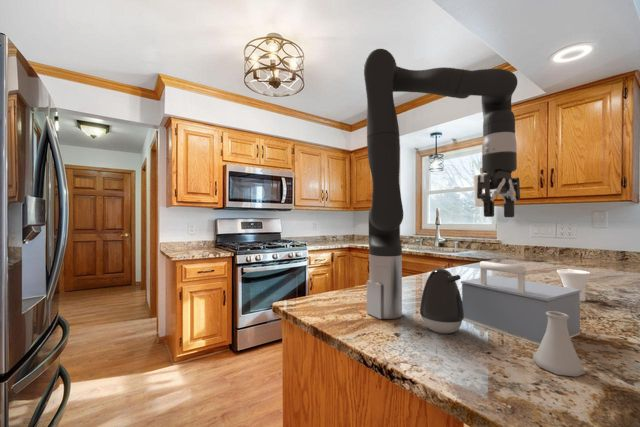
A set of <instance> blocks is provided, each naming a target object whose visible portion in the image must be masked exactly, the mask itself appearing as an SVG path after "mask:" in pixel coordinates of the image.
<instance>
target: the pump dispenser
mask: <svg viewBox="0 0 640 427" xmlns="http://www.w3.org/2000/svg"><path fill="white" fill-rule="evenodd" d="M460 279H461V276H460V275H459V274H456V275H452V273H451V272H450V271H449V270H448V269H445V268H436V269H433V270H432V271H431V272H430V274H429V275H428V277H427V279H426V281H425V284H424V287H423V290H422V293H421V298H420V304H419V315H420V316H421V320H422V322H423V324H424V326H425V327H426V328H428V329H429V330H430V331H433V332H435V333H439V334H446V335H447V334H452V333H455V332H456V331H458V329H460V327H461V325H462V323H463V321H464V320H463V319H464V310H463V304H462V294H461V292H460V288H459V287H458V283H457V282H456V281H458V280H460Z"/></svg>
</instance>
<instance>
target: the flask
mask: <svg viewBox="0 0 640 427" xmlns="http://www.w3.org/2000/svg"><path fill="white" fill-rule="evenodd" d="M546 315H547V316H548V324H547V329H546V333H545V335H544V337H543V339H542V341H541V344H540V345H538V348H537V350H536V351H535V353H534V355H533V358H532V361H533V362H534V363H535V364H536V365H537V366H538V367H539V368H542V369H544V370H546V371H548V372H550V373H553V374H555V375H558V376H559V375H560V376H569V377H579V376H583V375H584V374H586V371H585V369H584V367H583V366H584V365H583V364H582V363H581V360H580V358H579V355H578V353H577V351H576V349H575V346H574V344H573V342H572V340H571V338H570V337H569V333H568V328H567V319H568V318H569V316H568V315H567V314H564V313H561V312H554V311H548V312H546Z"/></svg>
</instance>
